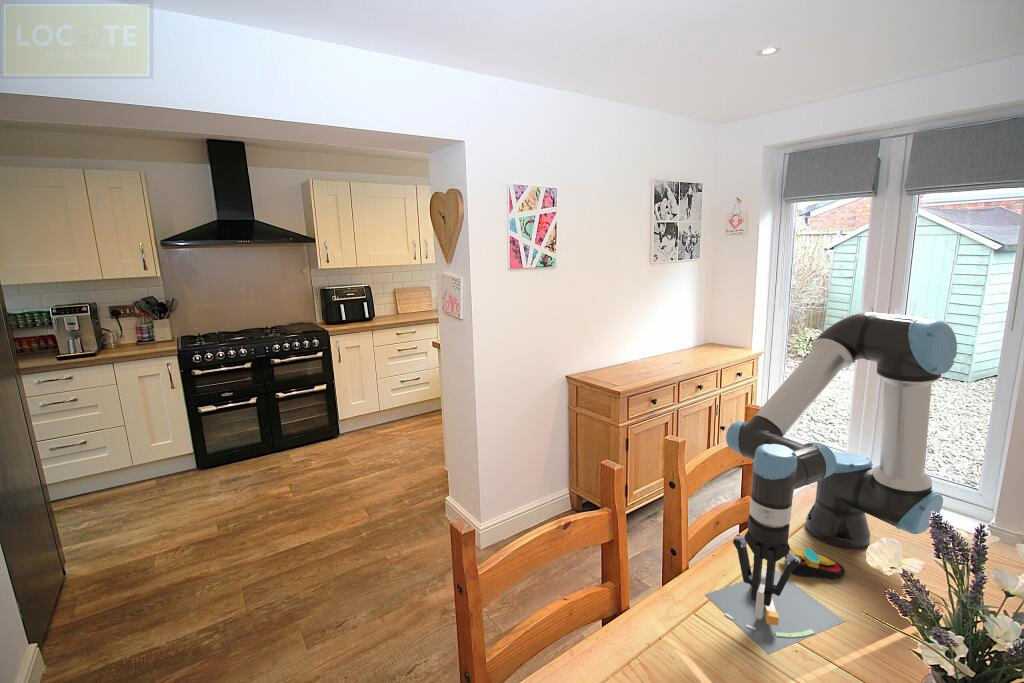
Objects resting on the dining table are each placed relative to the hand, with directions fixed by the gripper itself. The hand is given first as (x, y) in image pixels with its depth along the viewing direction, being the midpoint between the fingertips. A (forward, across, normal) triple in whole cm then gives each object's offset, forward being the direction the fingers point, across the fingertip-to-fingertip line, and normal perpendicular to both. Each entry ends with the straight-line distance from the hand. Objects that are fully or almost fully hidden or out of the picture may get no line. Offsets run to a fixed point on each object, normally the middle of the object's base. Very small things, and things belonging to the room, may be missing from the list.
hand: (759, 614), depth 106 cm
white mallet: (+1, 0, +5) cm, 5 cm away
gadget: (+3, +6, +25) cm, 26 cm away
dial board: (+3, +1, +6) cm, 6 cm away
